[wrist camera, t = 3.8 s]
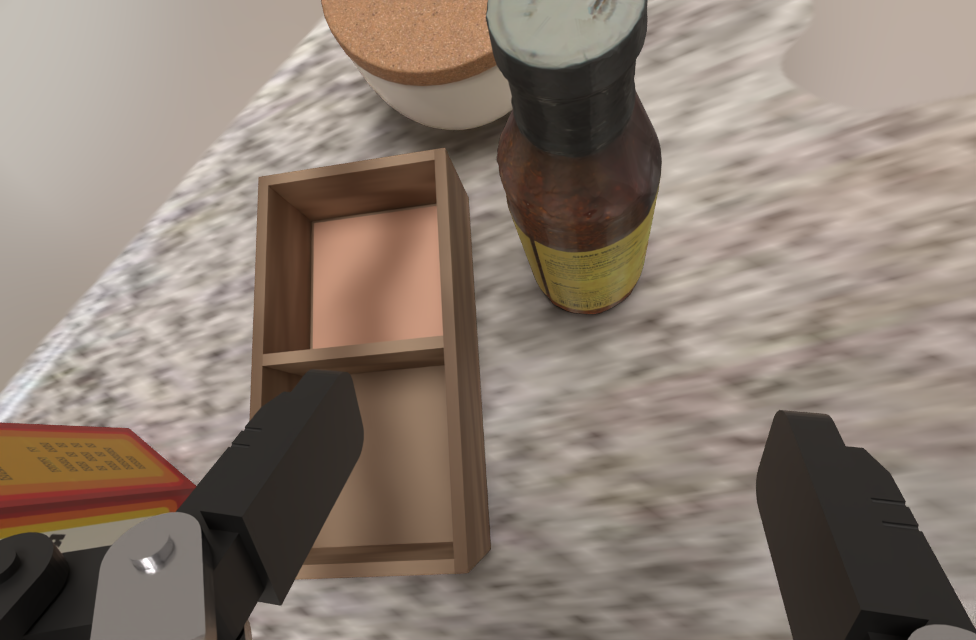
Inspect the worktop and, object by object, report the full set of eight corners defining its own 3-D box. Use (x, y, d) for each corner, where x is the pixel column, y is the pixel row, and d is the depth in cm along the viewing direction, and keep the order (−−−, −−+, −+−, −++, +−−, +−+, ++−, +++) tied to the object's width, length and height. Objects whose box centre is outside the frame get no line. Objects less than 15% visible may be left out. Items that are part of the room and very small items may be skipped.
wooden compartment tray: (468, 197, 35) (444, 147, 29) (491, 548, 30) (468, 573, 24) (305, 220, 36) (251, 178, 30) (300, 557, 31) (235, 581, 25)
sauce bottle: (663, 263, 32) (782, -20, 12) (588, 340, 31) (594, 172, 12) (579, 195, 33) (570, -142, 14) (507, 268, 33) (403, 23, 14)
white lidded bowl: (366, 162, 36) (276, 45, 26) (396, 1, 39) (326, -164, 28) (555, 168, 34) (541, 41, 23) (574, -4, 37) (569, -188, 26)
